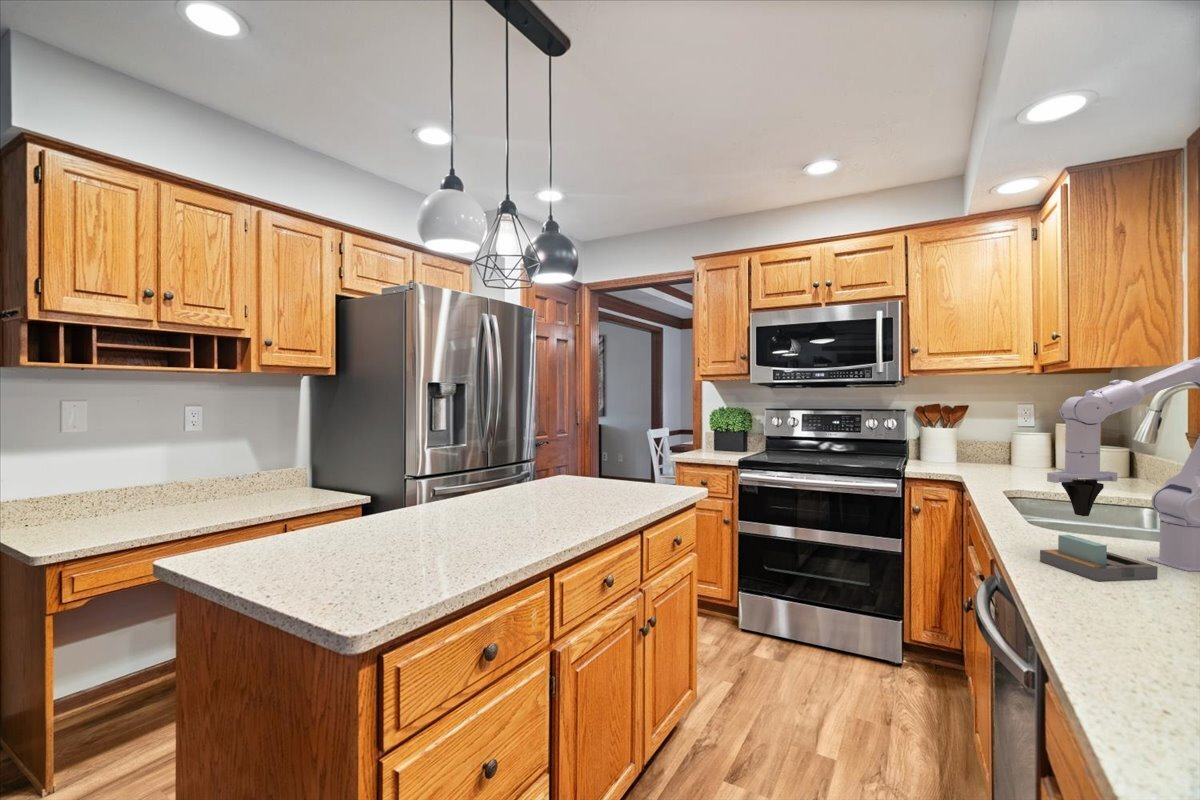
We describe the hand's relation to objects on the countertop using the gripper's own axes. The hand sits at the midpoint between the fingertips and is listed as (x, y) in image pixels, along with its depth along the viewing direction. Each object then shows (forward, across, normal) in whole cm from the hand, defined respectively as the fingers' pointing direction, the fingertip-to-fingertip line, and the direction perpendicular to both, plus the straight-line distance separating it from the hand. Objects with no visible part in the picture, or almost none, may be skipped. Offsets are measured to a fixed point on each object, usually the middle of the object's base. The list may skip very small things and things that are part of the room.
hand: (1081, 515), depth 121 cm
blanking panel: (+9, +7, +7) cm, 13 cm away
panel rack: (+9, +4, +7) cm, 12 cm away
